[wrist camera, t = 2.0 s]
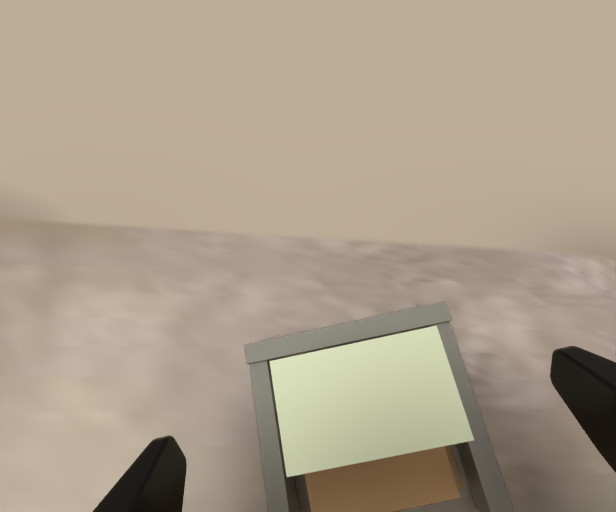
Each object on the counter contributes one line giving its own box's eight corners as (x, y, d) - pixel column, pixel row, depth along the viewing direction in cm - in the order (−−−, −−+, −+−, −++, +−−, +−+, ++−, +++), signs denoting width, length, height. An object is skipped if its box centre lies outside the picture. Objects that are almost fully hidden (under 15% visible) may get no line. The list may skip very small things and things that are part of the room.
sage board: (406, 403, 19) (474, 440, 9) (320, 420, 19) (286, 477, 9) (391, 349, 20) (436, 325, 10) (310, 366, 20) (269, 361, 10)
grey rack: (494, 502, 17) (523, 528, 14) (285, 542, 17) (272, 575, 15) (432, 311, 20) (445, 301, 18) (258, 348, 21) (244, 344, 18)
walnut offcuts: (455, 478, 18) (475, 498, 15) (316, 507, 18) (310, 532, 15) (433, 408, 19) (447, 414, 16) (303, 436, 19) (295, 447, 16)
